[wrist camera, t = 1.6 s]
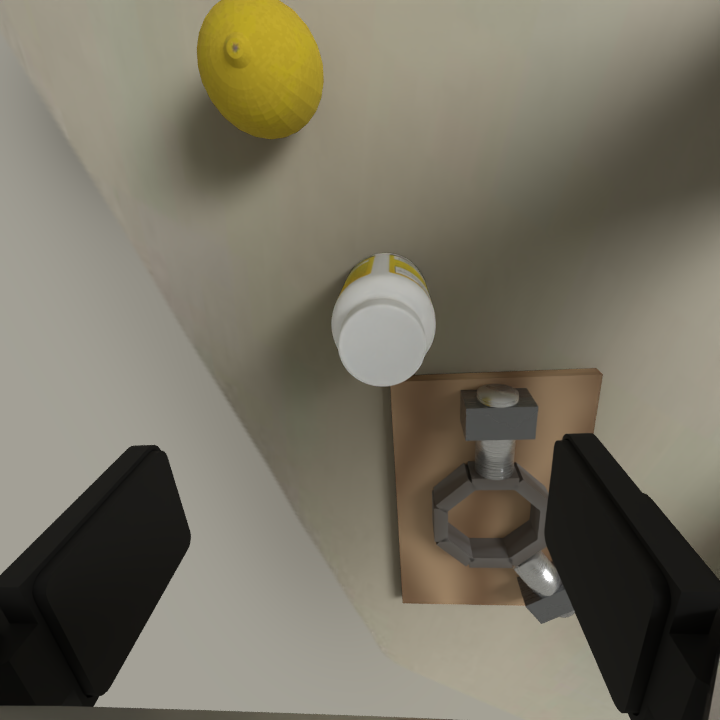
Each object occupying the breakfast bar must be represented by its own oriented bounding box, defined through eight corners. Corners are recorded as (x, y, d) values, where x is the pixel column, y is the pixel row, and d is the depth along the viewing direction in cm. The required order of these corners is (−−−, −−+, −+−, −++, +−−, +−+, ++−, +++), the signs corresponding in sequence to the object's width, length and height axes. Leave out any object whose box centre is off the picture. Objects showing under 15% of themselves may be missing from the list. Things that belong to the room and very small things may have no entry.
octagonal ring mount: (596, 368, 28) (617, 387, 26) (561, 595, 37) (575, 629, 34) (390, 376, 30) (389, 395, 27) (402, 593, 38) (403, 624, 35)
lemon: (298, 165, 25) (257, 158, 18) (219, 102, 24) (141, 66, 17) (353, 77, 23) (333, 27, 16) (269, 4, 22) (206, -86, 15)
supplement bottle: (346, 332, 29) (324, 400, 20) (342, 252, 27) (315, 287, 18) (426, 332, 28) (439, 400, 19) (428, 250, 26) (444, 285, 17)
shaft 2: (493, 544, 35) (503, 582, 32) (540, 521, 34) (555, 558, 30) (530, 586, 37) (544, 626, 33) (577, 566, 35) (595, 605, 32)
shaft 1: (517, 448, 31) (531, 479, 28) (457, 449, 32) (464, 480, 28) (522, 376, 29) (539, 400, 26) (458, 378, 29) (466, 403, 26)
